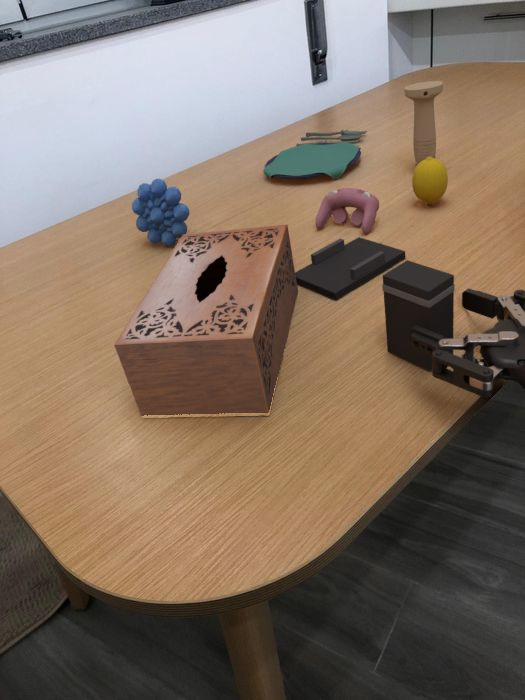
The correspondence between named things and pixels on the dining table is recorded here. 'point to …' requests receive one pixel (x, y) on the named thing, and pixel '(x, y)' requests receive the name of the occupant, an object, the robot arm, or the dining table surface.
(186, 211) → the grapes
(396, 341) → the upright box
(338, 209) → the video game controller
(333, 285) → the base pad
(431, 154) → the handle
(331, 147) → the cutlery set
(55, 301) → the dining table surface
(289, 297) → the tissue box cover
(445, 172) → the lemon
